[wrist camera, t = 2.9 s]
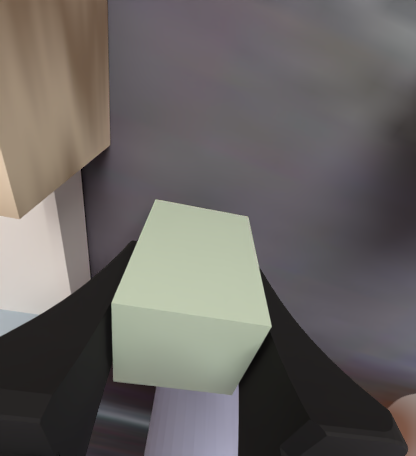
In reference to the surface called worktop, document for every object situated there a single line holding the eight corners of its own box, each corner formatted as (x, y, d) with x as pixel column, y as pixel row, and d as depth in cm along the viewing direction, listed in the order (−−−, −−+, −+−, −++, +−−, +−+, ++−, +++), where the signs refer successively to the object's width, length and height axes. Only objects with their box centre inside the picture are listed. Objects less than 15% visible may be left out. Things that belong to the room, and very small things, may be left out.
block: (225, 280, 14) (231, 395, 10) (149, 268, 14) (113, 381, 9) (248, 216, 12) (271, 326, 7) (155, 199, 12) (111, 302, 7)
